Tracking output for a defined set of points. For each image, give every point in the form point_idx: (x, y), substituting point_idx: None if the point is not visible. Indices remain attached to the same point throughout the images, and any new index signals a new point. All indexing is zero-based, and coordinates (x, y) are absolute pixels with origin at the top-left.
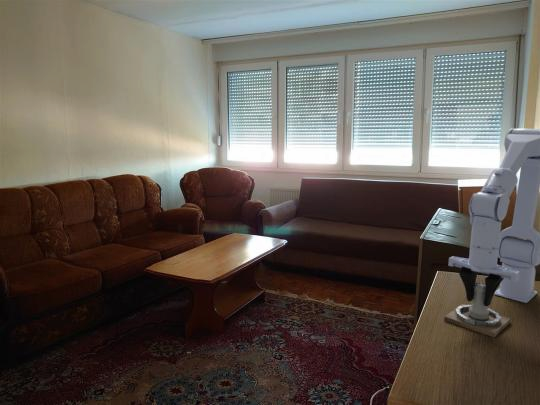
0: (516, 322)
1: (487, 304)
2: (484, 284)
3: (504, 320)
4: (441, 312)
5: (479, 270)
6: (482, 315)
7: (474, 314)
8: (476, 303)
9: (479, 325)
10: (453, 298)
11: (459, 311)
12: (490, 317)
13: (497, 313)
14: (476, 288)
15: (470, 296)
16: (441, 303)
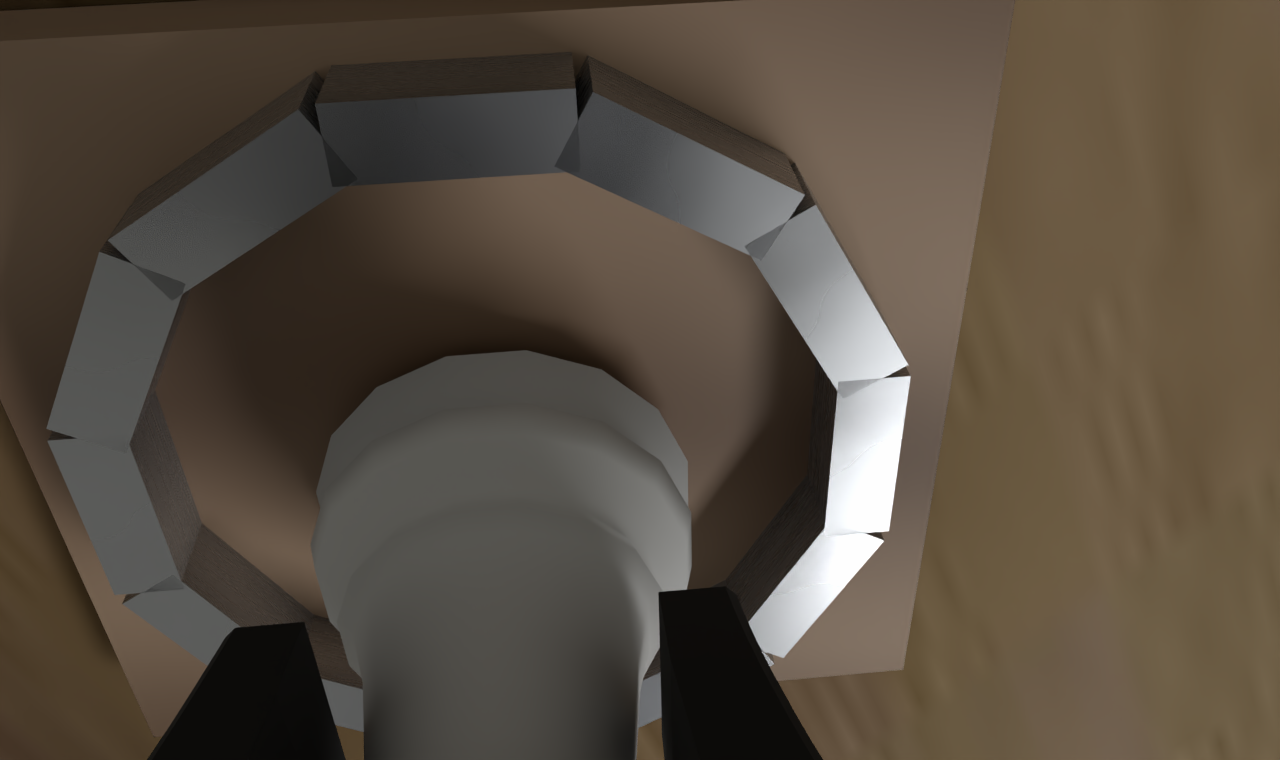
0: (129, 734)
1: (206, 675)
2: None
3: (156, 634)
4: (1118, 256)
5: None
6: (367, 456)
7: (513, 404)
8: (517, 620)
9: (244, 120)
10: (1071, 754)
11: (801, 314)
12: None
13: None
14: None
15: (679, 707)
16: (1190, 536)
